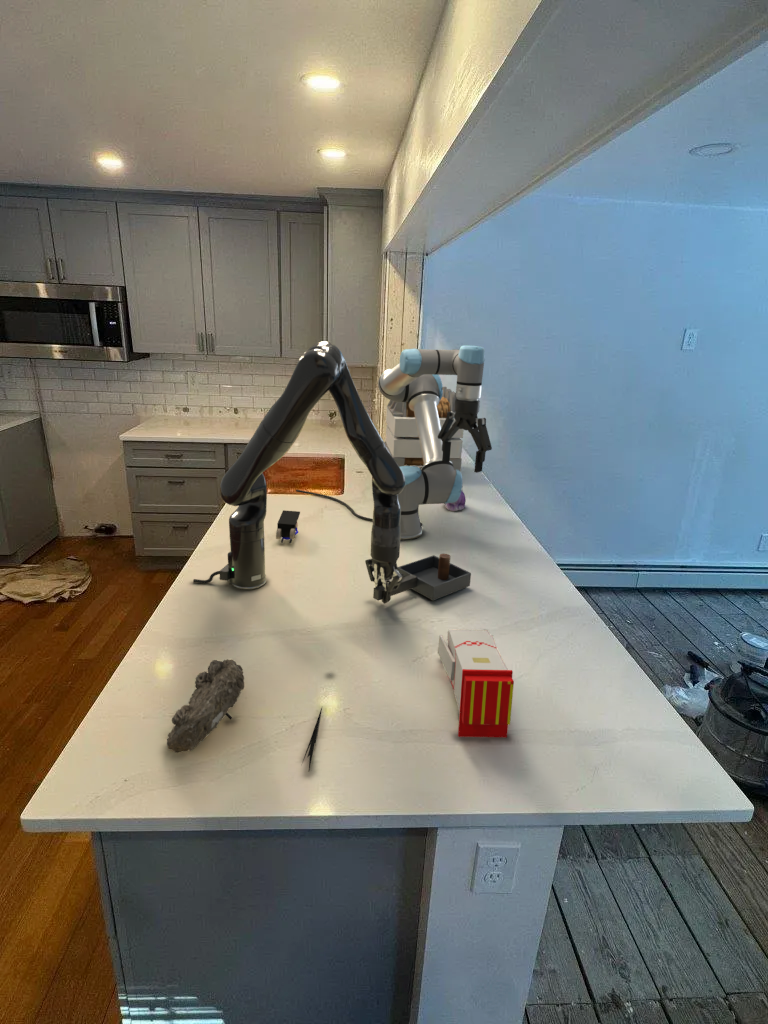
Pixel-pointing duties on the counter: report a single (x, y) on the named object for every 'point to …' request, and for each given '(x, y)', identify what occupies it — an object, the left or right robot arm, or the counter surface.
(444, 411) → the white slatted crate
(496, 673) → the toy
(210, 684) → the fossil
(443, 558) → the peg
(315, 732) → the feather
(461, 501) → the figurine
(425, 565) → the tray
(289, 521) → the figurine character
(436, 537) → the counter surface
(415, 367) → the right robot arm
